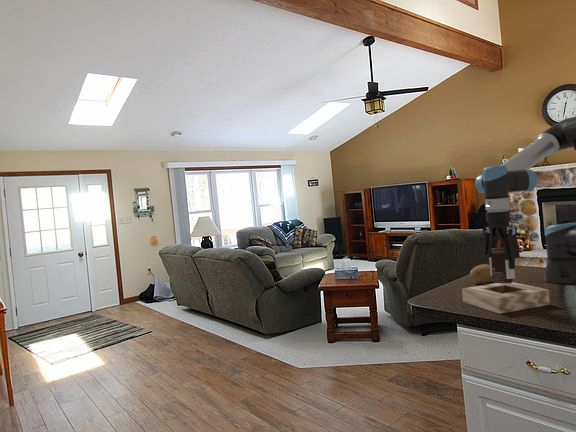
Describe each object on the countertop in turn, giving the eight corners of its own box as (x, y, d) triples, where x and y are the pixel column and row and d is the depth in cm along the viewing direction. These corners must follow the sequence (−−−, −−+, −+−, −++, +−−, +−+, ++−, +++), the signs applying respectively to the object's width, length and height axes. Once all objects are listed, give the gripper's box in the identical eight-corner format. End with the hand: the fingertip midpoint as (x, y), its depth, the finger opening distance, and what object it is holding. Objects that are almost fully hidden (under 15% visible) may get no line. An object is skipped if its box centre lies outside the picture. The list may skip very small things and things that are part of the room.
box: (492, 283, 147) (490, 249, 147) (493, 281, 151) (491, 247, 151) (512, 283, 144) (509, 248, 144) (513, 281, 148) (510, 246, 148)
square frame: (509, 294, 159) (508, 281, 159) (549, 304, 142) (548, 289, 142) (463, 302, 154) (461, 288, 154) (499, 313, 137) (498, 298, 137)
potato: (499, 280, 184) (497, 262, 184) (492, 287, 173) (491, 267, 172) (475, 279, 190) (473, 261, 190) (467, 286, 178) (466, 267, 178)
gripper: (469, 211, 156) (473, 274, 157) (510, 211, 137) (515, 282, 137) (486, 210, 158) (491, 271, 158) (529, 209, 138) (534, 279, 139)
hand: (502, 276), depth 148 cm, fingers closed on box, 7 cm apart
